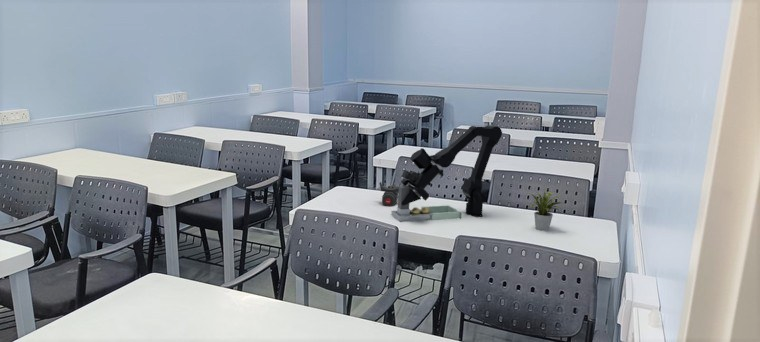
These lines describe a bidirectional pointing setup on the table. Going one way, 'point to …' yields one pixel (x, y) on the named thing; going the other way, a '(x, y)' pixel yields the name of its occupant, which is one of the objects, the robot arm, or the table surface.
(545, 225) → the house plant
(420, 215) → the slot rail
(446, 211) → the tray
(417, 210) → the brass sphere
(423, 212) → the gold ball
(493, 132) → the robot arm
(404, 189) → the tall gray pillar
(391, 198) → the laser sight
